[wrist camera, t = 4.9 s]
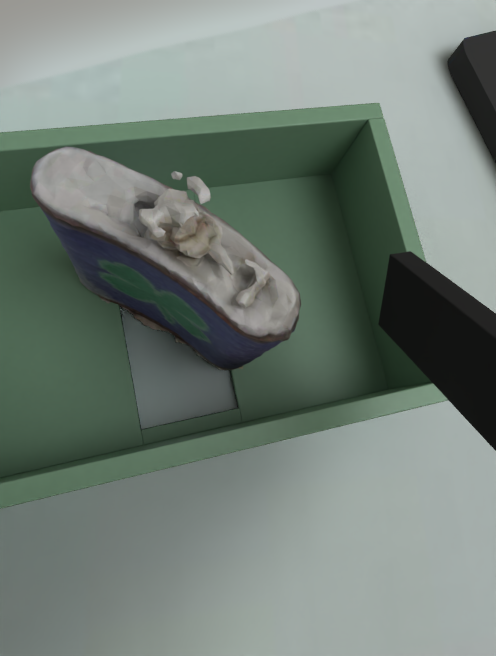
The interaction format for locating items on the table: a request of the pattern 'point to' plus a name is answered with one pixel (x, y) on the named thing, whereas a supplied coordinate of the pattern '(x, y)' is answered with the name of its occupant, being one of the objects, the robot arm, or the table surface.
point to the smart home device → (478, 82)
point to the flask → (165, 257)
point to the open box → (258, 228)
